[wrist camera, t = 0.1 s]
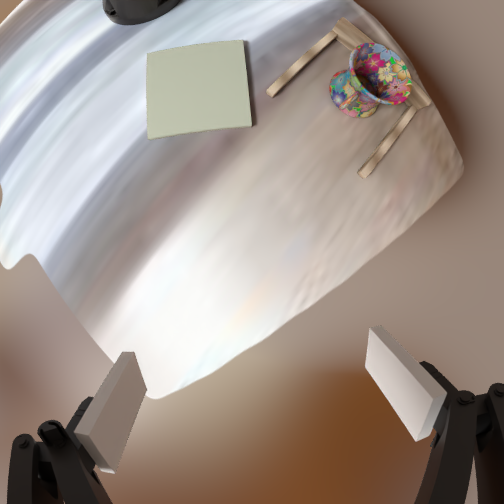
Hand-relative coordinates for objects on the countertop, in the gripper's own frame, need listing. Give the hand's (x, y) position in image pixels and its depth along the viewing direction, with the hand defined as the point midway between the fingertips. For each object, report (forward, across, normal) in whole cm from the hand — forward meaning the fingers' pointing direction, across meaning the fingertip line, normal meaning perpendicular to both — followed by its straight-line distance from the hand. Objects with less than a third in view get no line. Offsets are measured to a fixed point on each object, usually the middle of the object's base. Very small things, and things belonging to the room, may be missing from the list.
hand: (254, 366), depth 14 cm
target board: (+28, -4, +26) cm, 38 cm away
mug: (+28, +18, +23) cm, 41 cm away
